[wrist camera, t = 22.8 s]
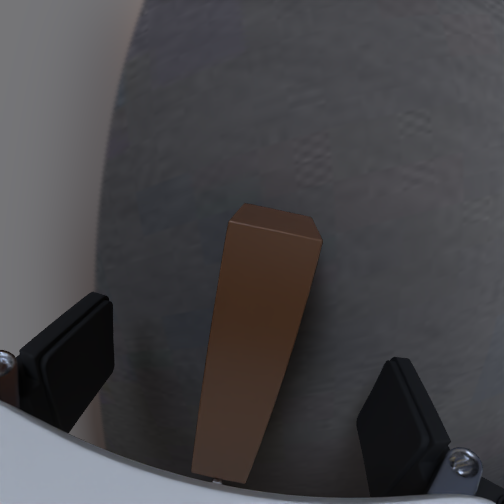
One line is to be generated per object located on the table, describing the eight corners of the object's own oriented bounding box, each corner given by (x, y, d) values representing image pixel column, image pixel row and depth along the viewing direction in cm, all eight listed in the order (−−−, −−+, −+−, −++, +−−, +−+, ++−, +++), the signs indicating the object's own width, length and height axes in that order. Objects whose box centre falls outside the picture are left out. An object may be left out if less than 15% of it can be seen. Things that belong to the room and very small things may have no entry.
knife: (244, 202, 10) (226, 221, 7) (312, 216, 10) (324, 242, 7) (191, 512, 16) (182, 547, 13) (222, 519, 16) (215, 554, 13)
